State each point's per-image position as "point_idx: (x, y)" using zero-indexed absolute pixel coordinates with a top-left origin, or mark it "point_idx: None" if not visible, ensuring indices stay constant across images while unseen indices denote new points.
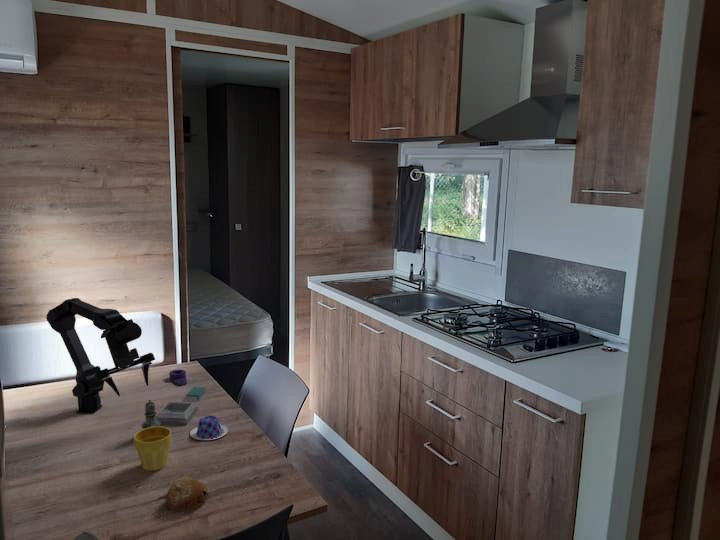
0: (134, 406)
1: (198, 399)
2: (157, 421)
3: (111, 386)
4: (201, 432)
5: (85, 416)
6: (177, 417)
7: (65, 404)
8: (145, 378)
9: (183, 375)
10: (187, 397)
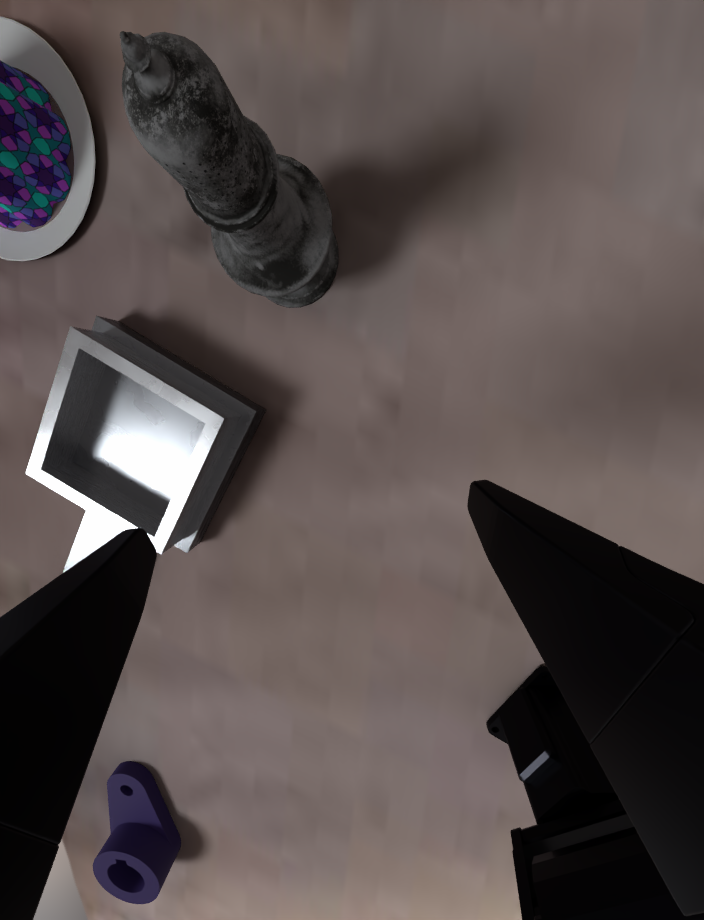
0: (342, 654)
1: None
2: (225, 246)
3: (669, 574)
4: (11, 75)
5: None
6: (134, 354)
7: None
8: (62, 600)
9: (110, 839)
10: None
